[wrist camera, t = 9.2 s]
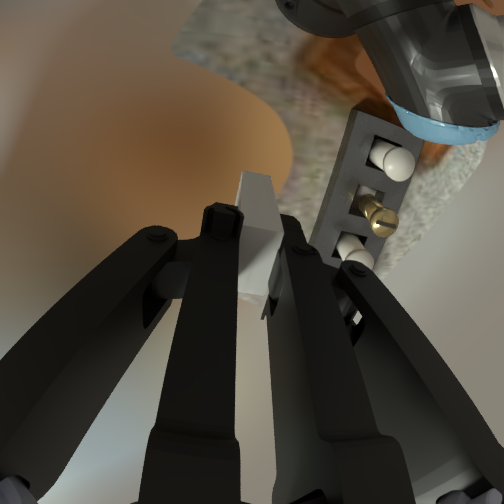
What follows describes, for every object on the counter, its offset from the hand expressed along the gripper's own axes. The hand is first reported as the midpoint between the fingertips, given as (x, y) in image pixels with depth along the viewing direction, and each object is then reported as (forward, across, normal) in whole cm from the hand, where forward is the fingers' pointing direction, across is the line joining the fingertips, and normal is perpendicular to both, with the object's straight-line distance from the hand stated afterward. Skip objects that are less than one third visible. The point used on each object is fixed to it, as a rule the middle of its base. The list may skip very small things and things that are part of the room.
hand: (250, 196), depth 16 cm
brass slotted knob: (+25, +20, -6) cm, 33 cm away
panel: (+28, +20, -6) cm, 35 cm away
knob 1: (+28, +20, -14) cm, 37 cm away
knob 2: (+28, +20, +2) cm, 34 cm away
